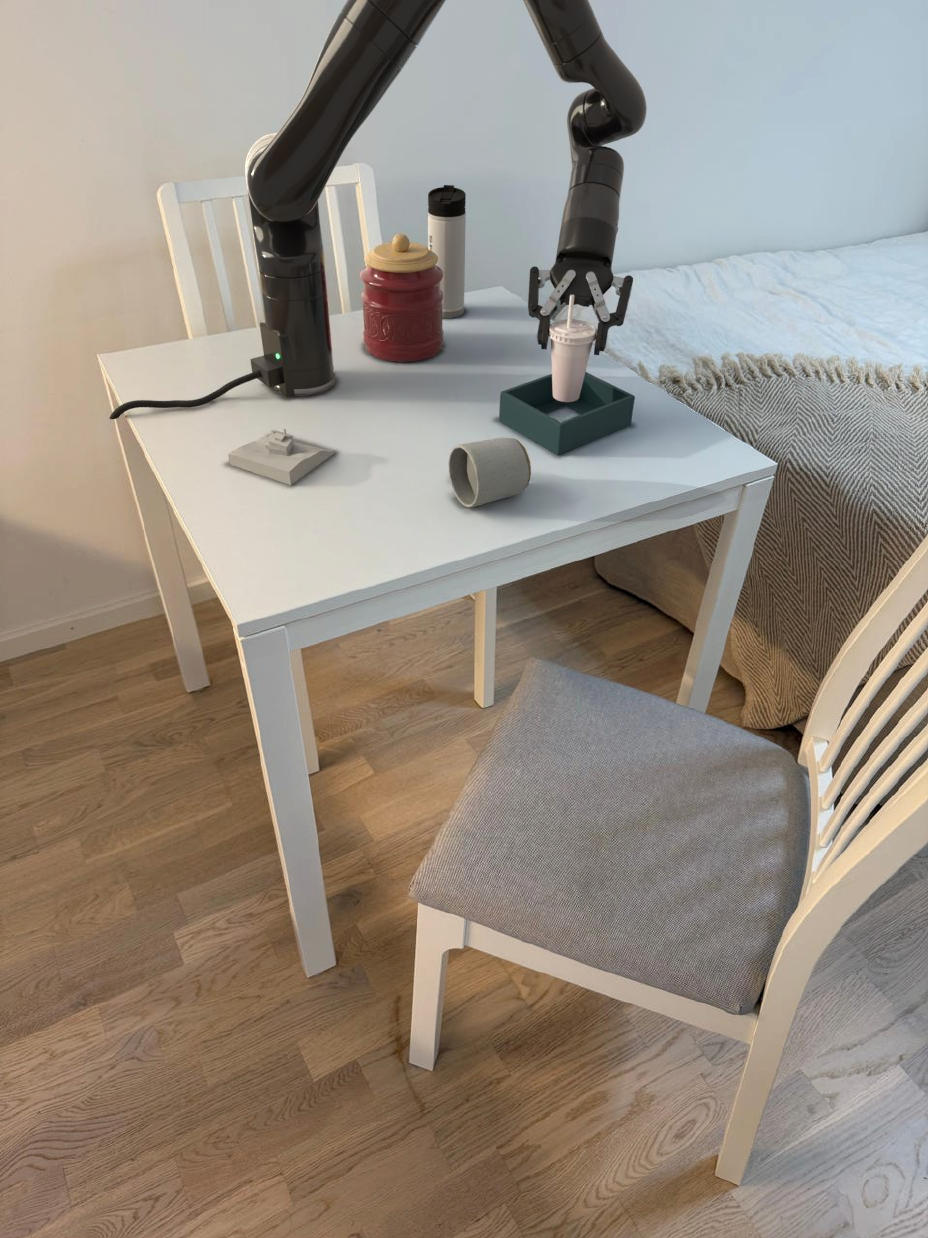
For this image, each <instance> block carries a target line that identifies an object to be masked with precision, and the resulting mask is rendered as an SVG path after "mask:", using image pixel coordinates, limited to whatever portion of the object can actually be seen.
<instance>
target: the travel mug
mask: <svg viewBox="0 0 928 1238" xmlns="http://www.w3.org/2000/svg"><path fill="white" fill-rule="evenodd" d="M427 193H428V194H427V206H428V208H427V248H428V249H429V250H430V251H432V252H434V253H435V254H436V255H437V256H438V262H437V263H436V265H437V266H438V267H439V268H441V270H442V271H443V274H444V276H443V279H442V280H441V281H440V289H441V291H442V292H443V295H444V297H443V300H442V319H454V318H457V317H460V316H462V315H463V314H464V312H465V283H466V282H465V280H466V279H465V277H466V275H465V274H466V222H467V221H466V219H467V217H466V216H467V215H466V214H467V213H466V203H467V201H466V200H467V199H466V198H467V197H466V196H467V195H466V192H465V190H463V189H461V188H458V187H455V185H454V184H452V185H451V184H444V185H443V186H442V187H441V186H440V187H436V188H432V189H431V190H430V191H429V192H427Z"/></svg>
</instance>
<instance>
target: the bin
mask: <svg viewBox="0 0 928 1238" xmlns="http://www.w3.org/2000/svg"><path fill="white" fill-rule="evenodd" d="M635 399H636V396H635V395H634V394H632V393H629V392H628V391H626V390H624V389H622V388H620V387H617V386H616V385H613V384H612V383H610V382H607V381H606V380H603V379H602V378H599V377H597V376H595V375H593V374H592V373H589V372H587V371H586V372H585V376H584V380H583V384H582V388H581V392H580V396H579V399H578V400H576V401H573V402H562V401H558V400H556V399H555V398H554V397H553V389H552V373H551V374H550V373H549V374H547V375H545V376H542V377H539V378H536V379H533V380H530V381H527V382H524V383H521V384H518V385H516V386H513V387H510V388H507V389H505V390H501V391H500V392H499V413H498V415H499V416H498V421H499V422H500V423H502V424H503V425H505V426H507V427H509V428H510V429H511V430H514V431H515V432H517V433H519V434H521V435H522V436H524V437H525V438H527V439H529V440H531V441H533V442H534V443H536V444H537V445H540V446H541V447H542V448H545V449H546V450H547V451H550V452H551V453H553V454H555V455H556V456H560V455H562V454H565V453H567V452H569V451H573V450H574V449H576V448H577V449H578V448H579V447H582V446H584V445H586V444H589V443H591V442H594V441H596V440H598V439H601V438H604V437H605V436H608V435H611V434H613V433H616V432H618V431H620V430H623V429H625V428H628V427H631V426H632V420H633V412H634V405H635ZM564 407H567V408H569V409H571V410H573V411H575V412H576V413H578V414H579V415H577V416H574V417H571V418H569V419H566V420H563V421H559V420H558V419H555V418H554V417H552V416H550V415H548V413H551V412H553V411H556V410H559V409H562V408H564Z"/></svg>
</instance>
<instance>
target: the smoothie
mask: <svg viewBox="0 0 928 1238" xmlns="http://www.w3.org/2000/svg"><path fill="white" fill-rule="evenodd" d="M574 306H575V305H574V295H570V302H569V305H568V311H567V312H568V314H567V319H559V320H556V321H553V322H552V323H551V325H550V326H549V333H548V334H549V338H550V357H551V374H552V389H553V397H554V398H555V399H556V400H558V401H562V402H573V401H576V400H578V399H579V396H580V392H581V388H582V384H583V380H584V376H585V372H587V367H588V363H589V360H590V357H591V352H592V347H593V344H594V342H595V341H596V334H597V327H596V326H595V325H594V324H591V323H590V322H588V321H584V320H580V319H573V312H574Z"/></svg>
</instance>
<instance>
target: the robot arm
mask: <svg viewBox="0 0 928 1238" xmlns="http://www.w3.org/2000/svg"><path fill="white" fill-rule="evenodd" d="M446 1H447V0H347V1H346V2H345V4H344V5H343V7H342V9H340V12H339V13H338V15H337V17H336V19H335V20H334V23H333V24H332V27H331V29H330V31H329V33H328V35H327V37H326V39H325V42H324V44H323V46H322V49H321V50H320V52H319V55H318V58H317V60H316V63H315V65H314V69H313V71H312V73H311V76H310V79H309V80H308V83H307V86H306V88H305V90H304V92H303V95H302V96H301V98H300V100H299V102H298V103H297V105H296V107H295V108H294V109H293V111H292V112H291V114H290V115H289V117H288V118H287V119H286V121H285V122H284V124H283V125H282V126H281V128H280V130H279V131H278V132H275V133H269V134H266V135H264V136H262V137H260V138H259V139H258V140H256V141H255V142H254V143H253V144H252V146H251V147H250V148H249V151H248V153H247V155H246V159H245V165H244V173H245V182H246V183H245V184H246V188H247V197H248V204H249V211H250V220H251V227H252V236H253V244H254V253H255V257H256V265H257V272H258V279H259V286H260V294H261V295H260V296H261V301H262V302H261V303H262V311H263V318H264V320H262V321H260V322H259V329H260V338H261V345H262V352H263V353H262V354H263V355H260V356H257V357H253V358H250V367H251V372H250V373H247V374H244V375H242V376H239V377H238V378H235V379H233V380H231V381H229V382H227V383H226V384H223V385H222V386H221V387H220V388H218V389H216V390H215V391H213V392H211V393H209V394H207V395H205V396H203V397H200V398H199V397H198V398H196V399H188V400H187V399H185V400H183V399H181V400H180V399H176V400H175V399H174V400H151V399H136V400H131V401H127V402H125V403H122V404H121V405H119V406H118V407H116V408H115V409H114V410H113V411H112V413H110V416H109V420H116V419H119V418H120V416H122V414H124V413H126V412H127V411H129V410H132V409H138V408H153V409H172V408H173V409H174V408H186V409H187V408H189V409H190V408H196V407H201V406H205V405H206V404H207V405H208V404H210V402H212V401H215V400H216V399H218V398H220V397H221V396H223V395H225V394H226V393H228V392H229V391H231V390H232V389H234V388H236V387H238V386H240V385H244V384H246V383H249V382H251V381H254V380H256V379H257V380H258V381H260V382H261V383H262V384H263V385H265V386H267V388H269V389H271V388H273V389H274V390H275V391H277V392H279V393H280V394H281V395H283V396H284V397H286V398H292V397H306V396H308V397H309V396H315V395H318V394H322V393H325V392H327V391H329V390H331V389H332V388H333V387H334V386H335V384H336V374H335V367H334V357H333V345H332V333H331V323H330V322H331V320H330V310H329V309H330V307H329V297H328V285H327V272H326V262H325V250H324V241H323V235H322V227H321V217H320V209H319V208H320V206H319V199H320V197H321V195H322V194H323V192H324V189H325V188H326V186H327V184H328V182H329V179H330V178H331V176H332V174H333V172H334V170H335V168H336V166H337V164H338V163H339V161H340V159H341V157H342V155H343V153H344V152H345V150H346V148H347V146H348V145H349V143H350V141H351V140H352V138H353V137H354V136H355V134H356V133H357V131H359V129H360V127H361V126H362V125H363V124H364V123H365V121H366V120H367V119H368V117H370V115H371V113H372V112H373V111H374V109H375V108H376V107H377V106H378V104H379V103H380V102H381V100H382V99H383V97H384V96H385V94H386V93H387V91H388V90H389V89H390V88H391V86H392V84H393V83H394V82H395V80H396V79H397V78H398V76H400V74H401V72H402V70H403V69H404V68H405V66H406V65H407V63H408V62H409V60H410V58H411V57H412V56H413V54H414V52H415V51H416V49H417V47H418V46H419V45H420V43H421V42H422V41H423V39H424V37H425V35H426V34H427V32H428V31H429V29H430V27H431V26H432V24H433V22H434V21H435V19H436V17H437V16H438V14H439V12H440V11H441V9H442V8H443V7H444V5H445V3H446ZM522 1H523V5H524V6H525V8H526V10H527V12H528V14H529V17H530V19H531V22H532V24H533V26H534V28H535V30H536V32H537V34H538V36H539V38H540V41H541V43H542V45H543V47H544V49H545V52H546V54H547V56H548V58H549V60H550V62H551V64H552V66H553V68H554V71H555V72H556V74H557V77H558V78H559V79H560V81H562V82H564V83H566V84H579V83H582V84H588V85H590V86H591V87H593V88H590V89H587V90H585V91H583V92H581V93H579V94H578V95H576V97H575V98H573V100H572V102H571V104H570V106H569V108H568V111H567V116H566V126H567V127H566V128H567V134H568V142H569V151H570V161H571V171H570V177H569V182H568V183H569V184H568V190H567V195H566V200H565V204H564V206H563V211H562V217H561V223H560V228H559V235H558V243H557V248H556V254H555V255H556V256H555V261H554V264H553V266H552V267H551V268H550V269H539V267H538V266H535V265H534V266H532V267H530V269H529V281H528V295H527V300H528V301H527V310H528V316H529V317H530V318H534V319H535V318H536V319H537V320H539V321H538V327H537V334H536V341H537V344H538V345H540V349H541V350H544V351H546V350H547V349H548V345H549V338H550V337H549V334H548V333H549V326H550V325H551V324H552V323H551V320H552V319H553V317H554V316H555V315H556V314H557V313H558V312H559V311H561V308H562V307H563V306H564V304H565V305H566V306H569V302H570V295H574V305H573V306H576V305H579V306H581V307H585V308H586V307H587V308H590V306H591V307H592V310H593V313H594V315H595V316H596V318H597V321H598V323H597V327H596V329H597V333H596V339H595V340H594V349H593V355H594V356H600V353H601V352H604V351H605V350H606V348H607V341H608V335H609V334H608V333H609V331H610V328H612V327H615V326H617V327H621V326H624V325H623V324H624V322H625V318H626V314H627V310H628V306H629V303H630V298H631V294H632V290H633V283H634V277H633V276H632V275H629V274H628V275H625V276H624V277H622V276H621V277H620V276H616V275H614V273H613V271H612V267H613V261H614V254H615V249H616V248H615V246H616V240H617V235H618V231H619V222H620V221H619V220H620V202H621V194H622V188H623V181H624V174H625V162H624V158H623V156H622V155H621V154H620V152H618V151H617V150H616V149H614V148H612V147H608V146H605V145H608V144H612V143H614V142H617V141H620V140H623V139H626V138H629V137H632V136H634V135H635V134H637V133H639V132H640V130H641V129H642V128H643V126H644V124H645V121H646V118H647V111H648V110H647V109H648V108H647V107H648V106H647V100H646V96H645V94H644V90H643V88H642V86H641V84H640V82H639V81H638V80H637V78H636V77H635V75H634V74H633V73H632V72H631V71H630V69H629V68H628V67H627V66H626V65H625V63H624V62H623V61H622V60H621V58H620V57H619V56H618V54H617V52H616V51H615V50H614V49H613V48H612V47H611V45H610V44H609V42H608V41H607V39H606V38H605V35H604V33H603V31H602V29H601V26H600V23H599V22H598V20H597V17H596V15H595V13H594V10H593V8H592V5H591V3H590V1H589V0H522ZM548 281H550V283H551V284H552V287H553V288H554V289H553V291H552V292H551V293H550V295H549V297H548V299H547V301H546V302H545V304H543V306H542V305H539V297H540V289H543V288H544V287H545V285H546V283H547V282H548ZM612 287H613V288H614V289H615V294H616V295H617V296H619V297H618V301H617V304H616V305H617V306H616V309H615V312H611V313H610V312H609V310H608V307H607V304H606V300H605V297H604V295H605V294H606V293H607V292H608V291H609V290H610V289H611V288H612Z"/></svg>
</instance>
